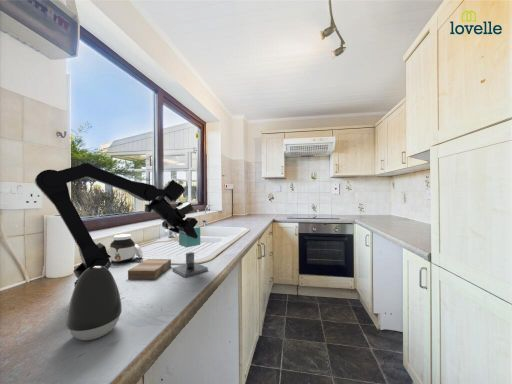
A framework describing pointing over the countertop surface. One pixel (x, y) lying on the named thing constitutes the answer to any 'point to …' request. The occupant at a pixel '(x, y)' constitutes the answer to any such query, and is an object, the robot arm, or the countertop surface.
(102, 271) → the dark grey egg shape
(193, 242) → the turquoise square block
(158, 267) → the board
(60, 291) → the countertop surface
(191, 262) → the post stand
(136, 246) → the spread jar
